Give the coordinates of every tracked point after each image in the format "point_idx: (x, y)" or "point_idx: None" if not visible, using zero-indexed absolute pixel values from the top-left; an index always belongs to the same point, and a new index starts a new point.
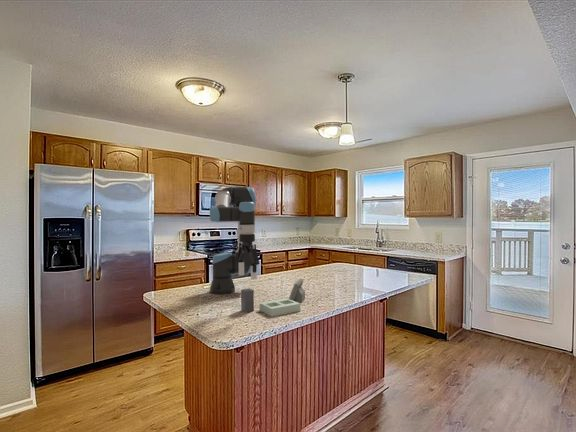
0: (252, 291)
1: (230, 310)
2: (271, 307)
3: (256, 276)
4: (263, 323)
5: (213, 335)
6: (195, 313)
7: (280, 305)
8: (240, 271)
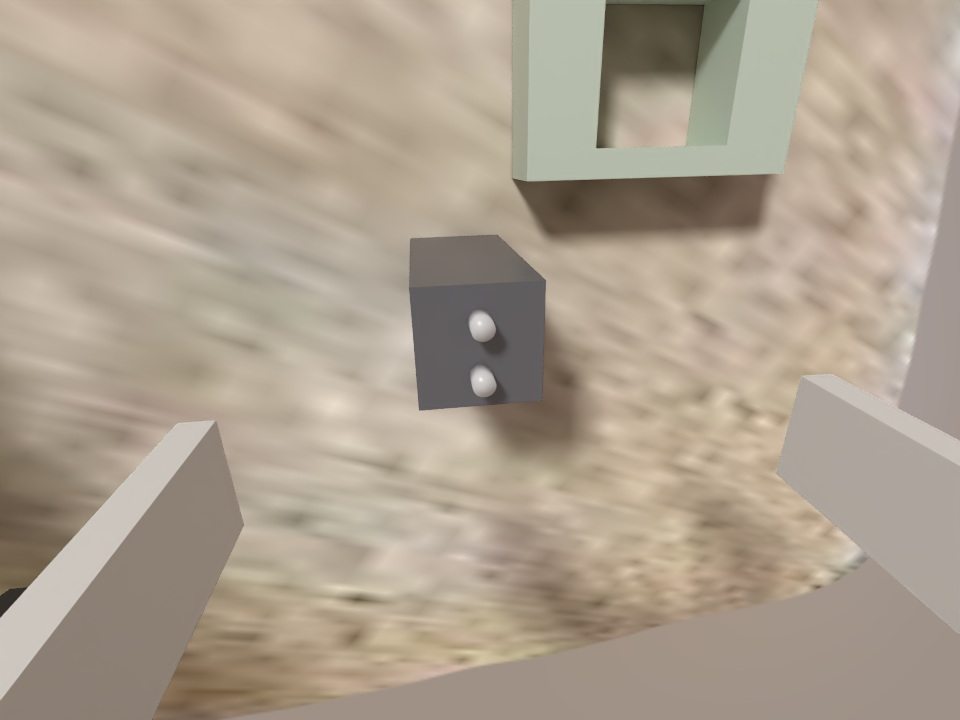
0: (541, 294)
1: (379, 401)
2: (746, 152)
3: (875, 403)
4: (807, 306)
5: (753, 583)
6: (332, 607)
7: (759, 11)
8: (200, 573)
